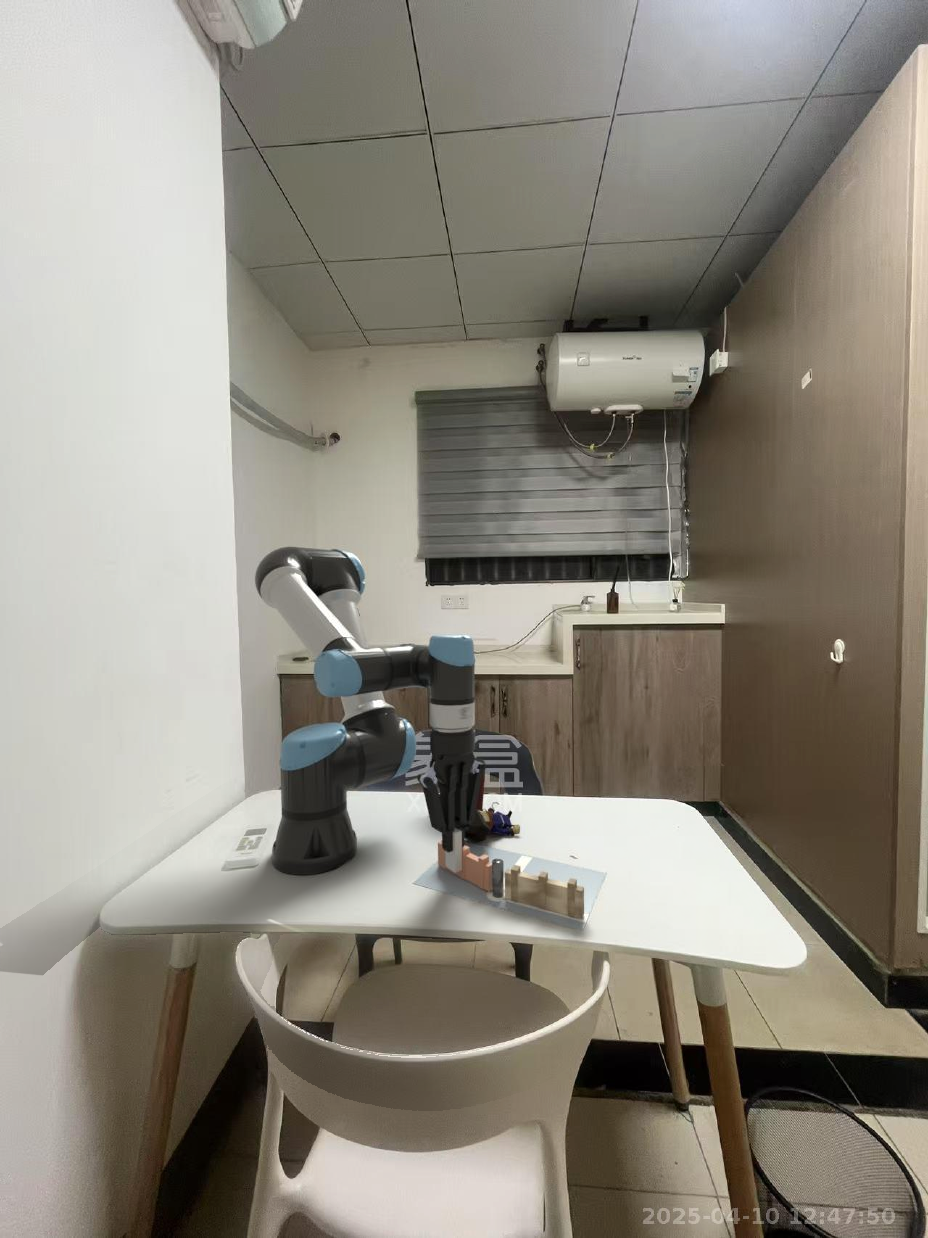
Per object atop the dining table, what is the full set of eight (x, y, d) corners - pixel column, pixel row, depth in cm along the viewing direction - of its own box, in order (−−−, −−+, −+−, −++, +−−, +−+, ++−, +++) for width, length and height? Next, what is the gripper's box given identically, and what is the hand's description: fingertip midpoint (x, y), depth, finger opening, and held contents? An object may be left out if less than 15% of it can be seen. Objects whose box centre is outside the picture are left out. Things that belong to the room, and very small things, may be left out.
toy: (531, 824, 101) (479, 823, 92) (517, 852, 102) (464, 854, 92) (503, 797, 108) (452, 793, 99) (490, 823, 109) (438, 822, 99)
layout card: (412, 885, 83) (412, 883, 83) (459, 841, 98) (459, 840, 98) (582, 933, 70) (582, 930, 70) (606, 874, 85) (606, 872, 85)
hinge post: (490, 898, 79) (490, 863, 78) (495, 892, 80) (494, 857, 80) (501, 901, 78) (500, 865, 78) (505, 895, 79) (505, 860, 79)
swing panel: (494, 888, 80) (494, 858, 80) (488, 892, 79) (487, 862, 79) (443, 862, 89) (443, 835, 89) (437, 865, 88) (437, 838, 88)
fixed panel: (504, 898, 78) (504, 867, 78) (508, 893, 79) (507, 863, 79) (581, 919, 72) (581, 886, 72) (584, 913, 74) (584, 881, 73)
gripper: (433, 737, 77) (435, 891, 77) (496, 725, 85) (497, 864, 85) (407, 729, 83) (408, 872, 83) (468, 718, 91) (469, 848, 91)
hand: (453, 868), depth 84 cm, fingers closed
